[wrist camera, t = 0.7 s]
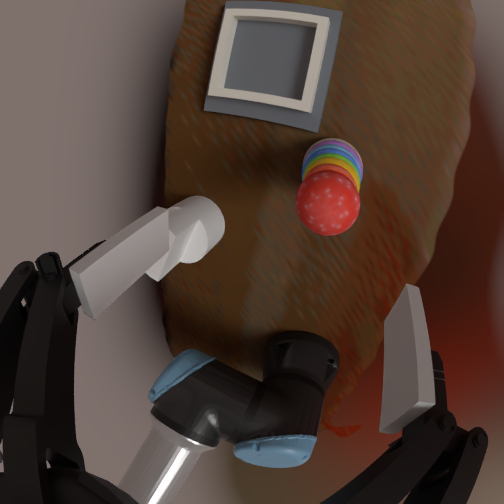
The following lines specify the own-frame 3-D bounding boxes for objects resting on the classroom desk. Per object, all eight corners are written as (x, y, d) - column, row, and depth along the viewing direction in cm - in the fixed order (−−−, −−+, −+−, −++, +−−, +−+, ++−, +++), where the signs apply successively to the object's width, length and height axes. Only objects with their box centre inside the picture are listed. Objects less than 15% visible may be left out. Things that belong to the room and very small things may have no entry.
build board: (318, 132, 32) (315, 133, 29) (208, 110, 35) (196, 110, 32) (342, 15, 23) (342, 6, 20) (230, 4, 26) (220, -4, 23)
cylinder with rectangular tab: (211, 256, 47) (174, 295, 37) (170, 227, 47) (126, 258, 37) (234, 215, 42) (196, 248, 32) (188, 185, 42) (140, 208, 32)
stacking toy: (293, 173, 36) (247, 218, 20) (323, 126, 32) (305, 125, 16) (340, 206, 36) (334, 277, 20) (373, 161, 32) (402, 196, 16)
